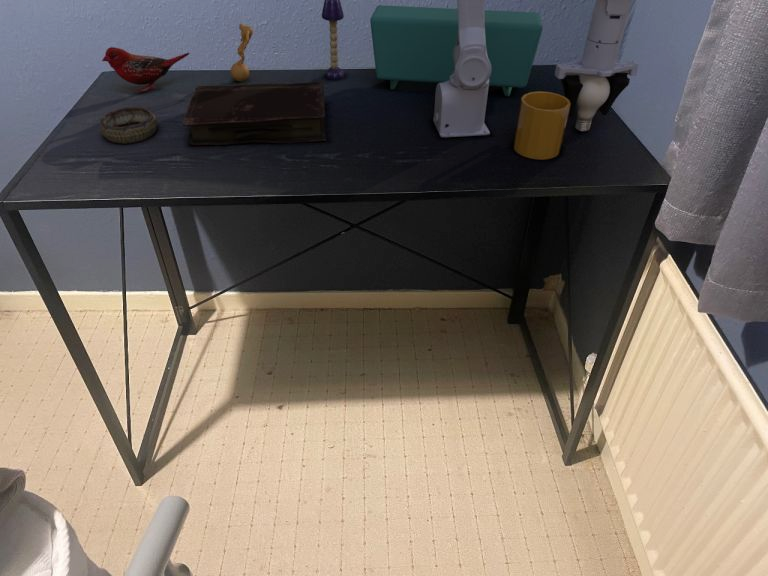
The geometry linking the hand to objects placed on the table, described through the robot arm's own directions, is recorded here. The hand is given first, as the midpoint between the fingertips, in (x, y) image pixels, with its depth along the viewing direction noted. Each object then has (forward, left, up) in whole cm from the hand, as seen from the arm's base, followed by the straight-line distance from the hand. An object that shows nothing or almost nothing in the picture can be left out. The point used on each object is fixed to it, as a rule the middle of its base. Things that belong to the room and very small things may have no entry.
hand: (585, 114), depth 108 cm
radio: (-20, +24, -4) cm, 32 cm away
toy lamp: (-45, +33, -4) cm, 56 cm away
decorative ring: (-85, +9, -4) cm, 86 cm away
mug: (-11, -5, -3) cm, 13 cm away
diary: (-61, +10, -4) cm, 62 cm away
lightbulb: (0, 0, -4) cm, 4 cm away
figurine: (-65, +33, -4) cm, 73 cm away
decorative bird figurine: (-84, +30, -4) cm, 89 cm away
